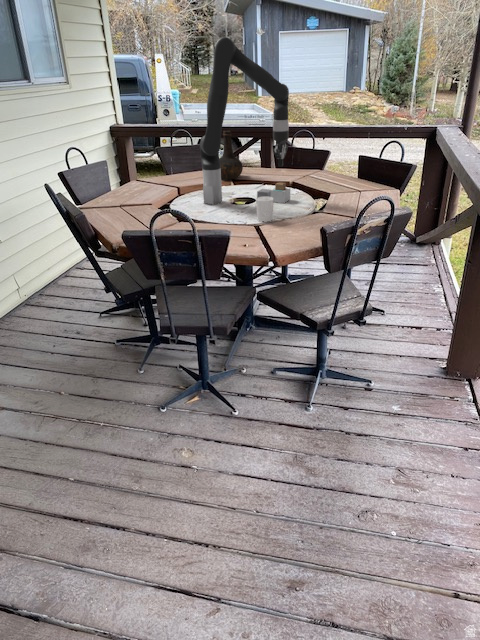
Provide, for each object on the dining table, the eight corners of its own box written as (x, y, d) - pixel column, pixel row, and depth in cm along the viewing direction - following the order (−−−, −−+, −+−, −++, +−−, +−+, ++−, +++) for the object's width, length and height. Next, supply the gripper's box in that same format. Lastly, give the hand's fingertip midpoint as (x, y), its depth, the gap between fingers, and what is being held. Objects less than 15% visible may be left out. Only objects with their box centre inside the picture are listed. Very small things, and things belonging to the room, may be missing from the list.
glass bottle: (232, 173, 315) (230, 127, 302) (248, 178, 302) (247, 130, 289) (209, 178, 306) (206, 130, 293) (225, 183, 293) (223, 133, 280)
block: (282, 202, 251) (282, 184, 246) (275, 201, 252) (275, 184, 248) (285, 200, 254) (285, 182, 249) (278, 199, 255) (278, 182, 251)
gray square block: (267, 201, 253) (267, 192, 251) (257, 200, 256) (257, 191, 254) (272, 198, 258) (272, 189, 256) (262, 197, 261) (262, 188, 259)
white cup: (252, 220, 225) (252, 198, 220) (264, 216, 229) (264, 195, 225) (265, 223, 220) (265, 201, 215) (276, 219, 224) (277, 198, 220)
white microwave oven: (283, 203, 248) (284, 191, 245) (270, 202, 252) (270, 189, 249) (290, 199, 254) (290, 187, 251) (277, 198, 258) (277, 186, 255)
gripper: (281, 131, 230) (281, 169, 238) (293, 128, 240) (293, 164, 248) (267, 131, 233) (268, 168, 241) (279, 127, 243) (279, 163, 251)
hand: (280, 166), depth 245 cm, fingers closed
